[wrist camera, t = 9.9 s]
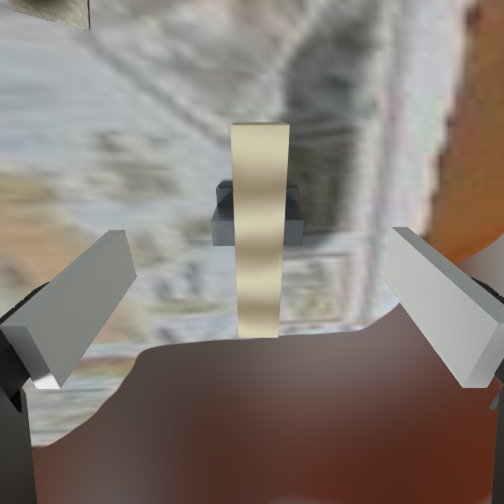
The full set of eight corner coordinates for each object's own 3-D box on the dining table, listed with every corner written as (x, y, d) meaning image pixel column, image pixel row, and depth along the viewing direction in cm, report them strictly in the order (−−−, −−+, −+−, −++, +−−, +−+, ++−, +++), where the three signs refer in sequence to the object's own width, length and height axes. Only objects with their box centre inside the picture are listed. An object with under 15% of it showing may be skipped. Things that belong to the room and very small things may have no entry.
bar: (275, 311, 35) (278, 337, 31) (240, 311, 35) (238, 337, 31) (284, 122, 25) (289, 124, 21) (234, 122, 25) (230, 125, 21)
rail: (220, 237, 37) (214, 261, 32) (217, 186, 34) (209, 203, 28) (293, 236, 37) (300, 260, 32) (297, 185, 34) (305, 202, 28)
